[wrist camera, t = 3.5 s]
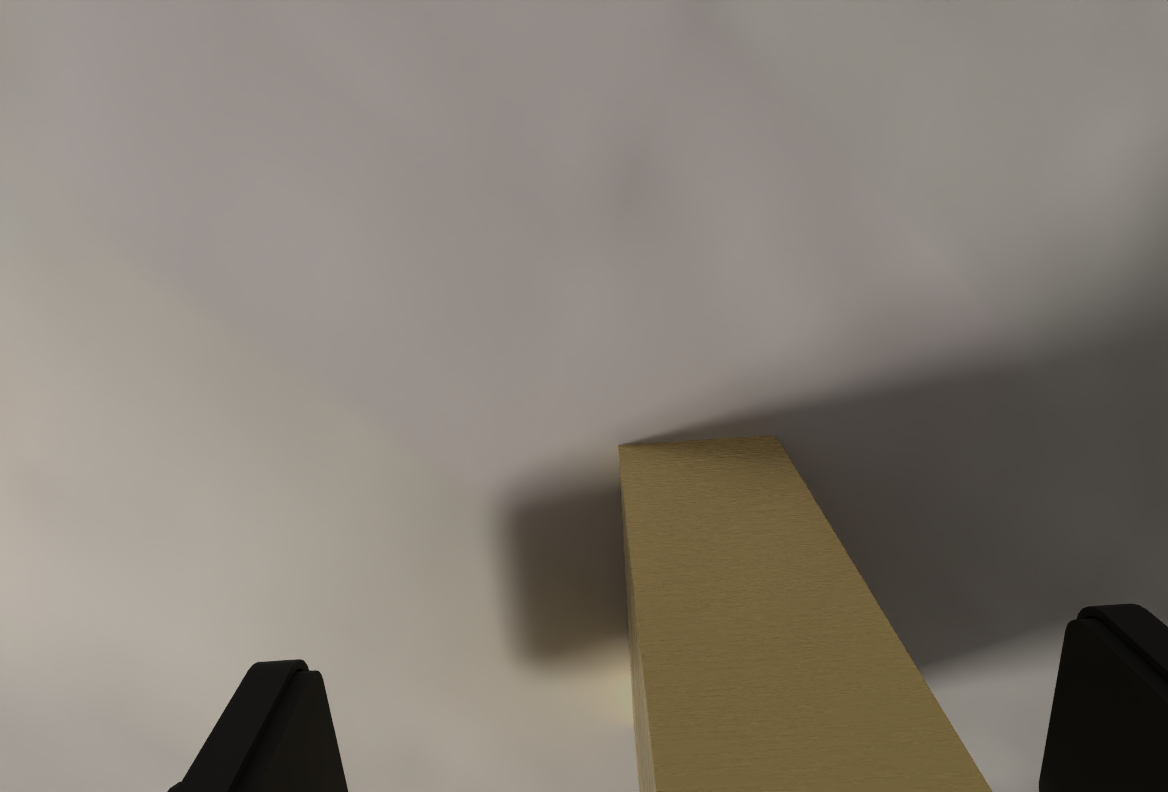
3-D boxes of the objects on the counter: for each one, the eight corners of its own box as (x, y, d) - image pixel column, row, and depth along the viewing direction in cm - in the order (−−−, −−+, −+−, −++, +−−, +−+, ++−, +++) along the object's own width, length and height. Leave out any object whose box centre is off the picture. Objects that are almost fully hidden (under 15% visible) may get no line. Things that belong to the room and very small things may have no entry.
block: (776, 435, 10) (1000, 804, 5) (768, 716, 12) (928, 1228, 7) (618, 445, 11) (659, 822, 5) (634, 723, 12) (677, 1239, 7)
